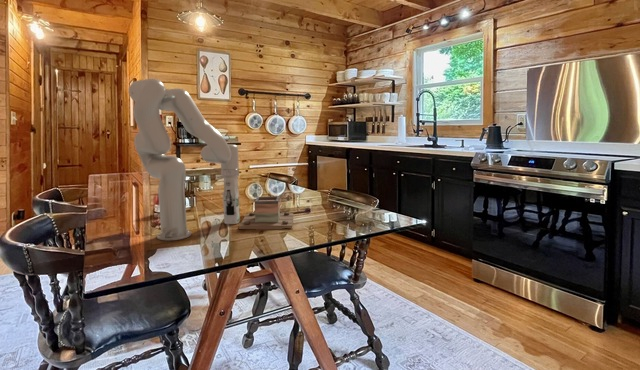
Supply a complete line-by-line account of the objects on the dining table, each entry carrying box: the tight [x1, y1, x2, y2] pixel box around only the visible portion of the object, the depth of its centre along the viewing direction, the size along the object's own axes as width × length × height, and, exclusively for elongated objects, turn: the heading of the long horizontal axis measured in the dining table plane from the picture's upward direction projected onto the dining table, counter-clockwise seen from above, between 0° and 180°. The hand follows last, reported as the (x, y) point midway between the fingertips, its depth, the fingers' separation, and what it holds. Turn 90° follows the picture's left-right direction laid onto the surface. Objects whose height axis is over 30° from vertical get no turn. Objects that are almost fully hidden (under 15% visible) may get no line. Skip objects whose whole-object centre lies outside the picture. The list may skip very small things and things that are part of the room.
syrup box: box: [222, 191, 241, 225], centre depth 174 cm, size 6×6×14 cm
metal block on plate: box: [238, 196, 294, 230], centre depth 174 cm, size 22×22×11 cm
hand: (231, 212), depth 175 cm, fingers closed on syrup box, 5 cm apart
